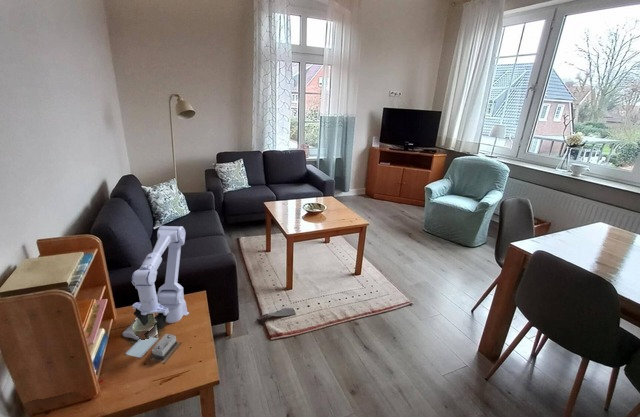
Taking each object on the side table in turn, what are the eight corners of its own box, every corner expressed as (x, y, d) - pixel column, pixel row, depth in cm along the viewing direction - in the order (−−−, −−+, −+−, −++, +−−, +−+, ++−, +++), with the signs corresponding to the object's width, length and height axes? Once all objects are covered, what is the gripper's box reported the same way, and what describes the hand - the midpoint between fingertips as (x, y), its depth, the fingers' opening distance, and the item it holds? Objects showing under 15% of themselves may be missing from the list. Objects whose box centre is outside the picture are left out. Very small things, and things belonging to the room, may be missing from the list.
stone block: (121, 343, 128) (141, 343, 126) (117, 333, 127) (137, 334, 125) (143, 324, 139) (161, 324, 137) (139, 315, 138) (157, 315, 135)
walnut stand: (149, 362, 118) (148, 358, 117) (166, 342, 127) (166, 339, 126) (165, 366, 116) (164, 362, 116) (181, 346, 126) (181, 342, 125)
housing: (167, 342, 125) (165, 333, 123) (177, 344, 124) (175, 335, 123) (153, 357, 118) (151, 348, 116) (163, 360, 117) (161, 350, 115)
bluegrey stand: (126, 357, 120) (125, 353, 119) (144, 338, 129) (144, 334, 128) (141, 360, 118) (140, 357, 118) (159, 341, 128) (158, 337, 127)
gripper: (123, 300, 114) (130, 329, 119) (157, 307, 112) (163, 336, 117) (138, 289, 121) (144, 317, 126) (170, 295, 118) (175, 323, 123)
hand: (154, 325), depth 122 cm, fingers open, 7 cm apart
